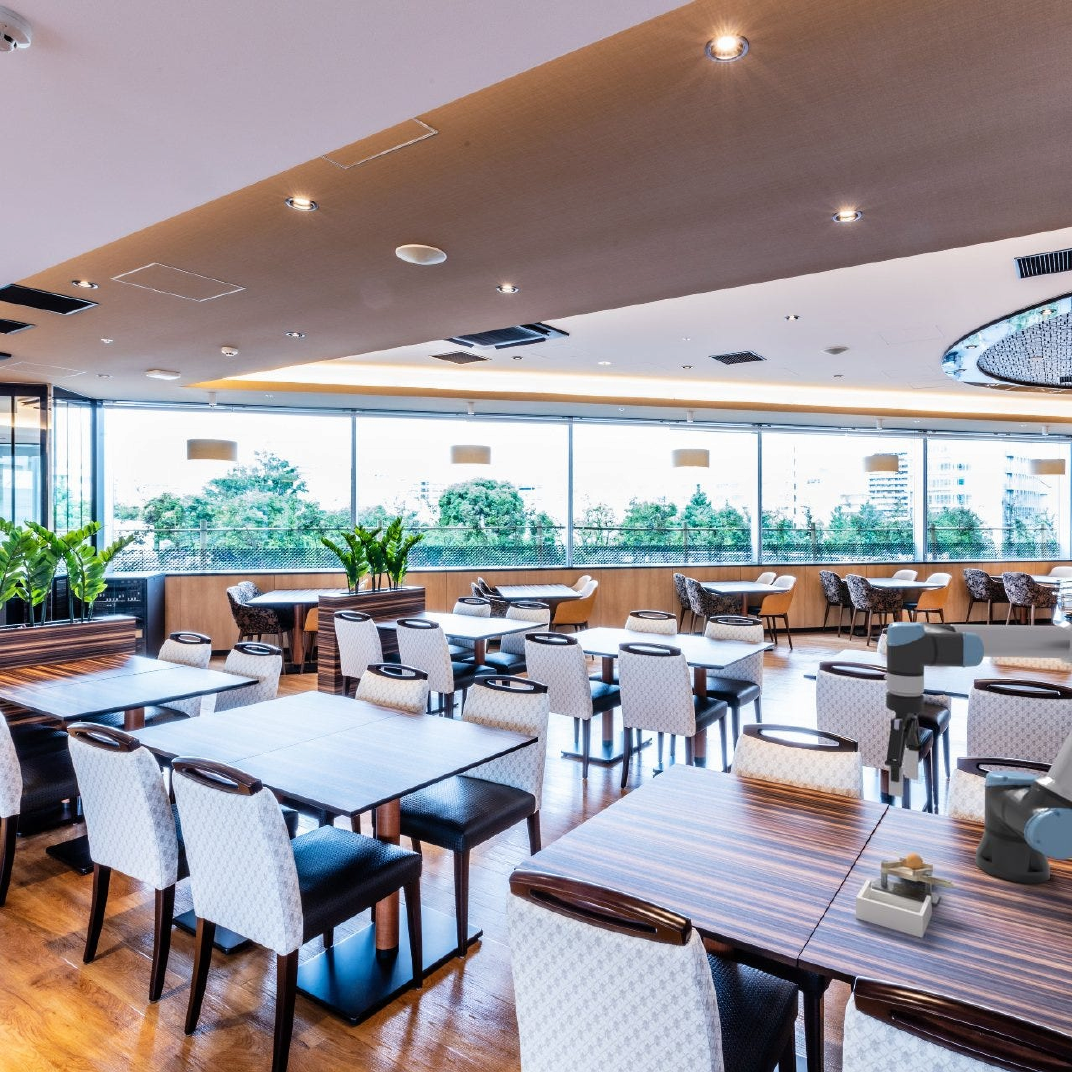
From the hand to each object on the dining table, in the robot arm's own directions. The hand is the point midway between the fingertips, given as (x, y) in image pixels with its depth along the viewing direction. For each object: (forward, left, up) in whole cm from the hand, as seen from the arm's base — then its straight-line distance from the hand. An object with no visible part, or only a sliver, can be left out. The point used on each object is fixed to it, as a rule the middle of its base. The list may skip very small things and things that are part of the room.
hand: (903, 786), depth 171 cm
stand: (-1, +1, -24) cm, 24 cm away
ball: (-1, -9, -20) cm, 22 cm away
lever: (-4, -1, -20) cm, 20 cm away
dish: (-1, +13, -24) cm, 27 cm away
